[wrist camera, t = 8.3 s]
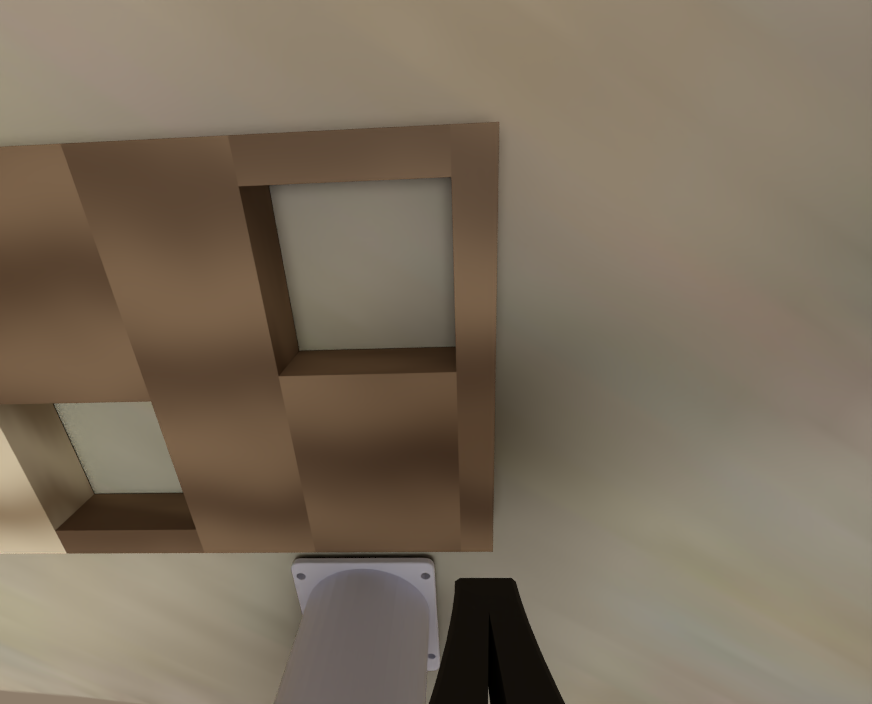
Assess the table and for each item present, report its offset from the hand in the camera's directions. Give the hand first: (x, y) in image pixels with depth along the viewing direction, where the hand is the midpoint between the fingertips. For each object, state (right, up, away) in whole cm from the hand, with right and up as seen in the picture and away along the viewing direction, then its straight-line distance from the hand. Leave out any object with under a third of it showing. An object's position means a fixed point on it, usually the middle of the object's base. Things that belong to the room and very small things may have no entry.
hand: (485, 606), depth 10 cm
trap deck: (-12, +6, +9) cm, 16 cm away
